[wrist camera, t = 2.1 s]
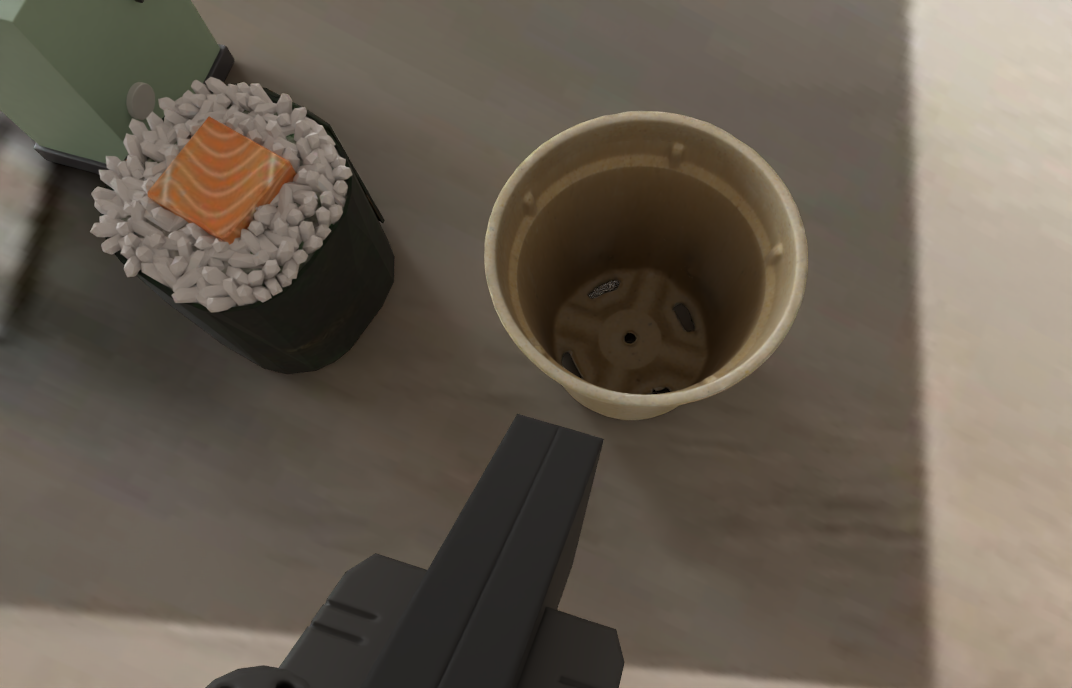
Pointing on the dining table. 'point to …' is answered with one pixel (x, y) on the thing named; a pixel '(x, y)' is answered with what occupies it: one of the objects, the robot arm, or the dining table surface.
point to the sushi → (249, 224)
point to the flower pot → (646, 260)
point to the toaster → (98, 70)
